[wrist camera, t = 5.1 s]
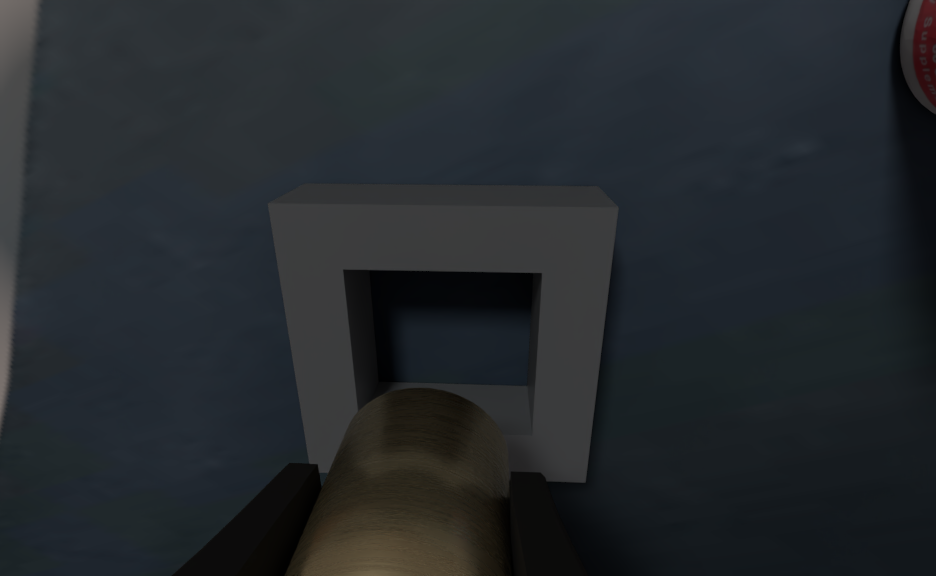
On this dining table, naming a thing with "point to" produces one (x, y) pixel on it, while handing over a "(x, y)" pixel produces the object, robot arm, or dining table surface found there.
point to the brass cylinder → (413, 493)
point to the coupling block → (449, 249)
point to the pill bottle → (920, 51)
